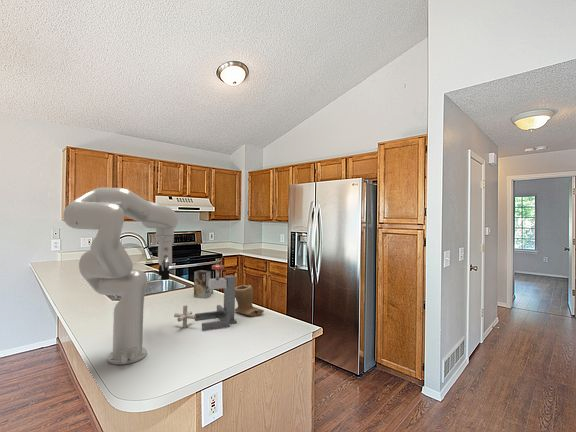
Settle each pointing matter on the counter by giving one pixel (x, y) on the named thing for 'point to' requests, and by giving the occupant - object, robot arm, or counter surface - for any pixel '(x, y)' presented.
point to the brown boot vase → (246, 301)
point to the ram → (217, 279)
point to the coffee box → (201, 283)
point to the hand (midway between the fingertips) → (163, 277)
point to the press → (222, 309)
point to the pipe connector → (184, 316)
